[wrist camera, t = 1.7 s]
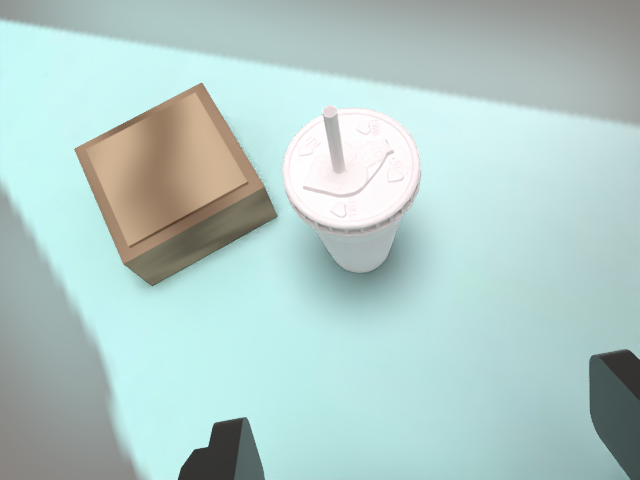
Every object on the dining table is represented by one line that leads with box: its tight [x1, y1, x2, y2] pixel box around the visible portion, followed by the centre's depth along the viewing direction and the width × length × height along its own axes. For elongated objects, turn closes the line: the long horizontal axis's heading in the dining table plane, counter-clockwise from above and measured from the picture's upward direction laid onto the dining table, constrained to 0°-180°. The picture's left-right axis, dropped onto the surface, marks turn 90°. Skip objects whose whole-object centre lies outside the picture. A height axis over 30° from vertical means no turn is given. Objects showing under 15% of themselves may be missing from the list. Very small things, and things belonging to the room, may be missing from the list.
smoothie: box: [282, 105, 421, 273], centre depth 27 cm, size 6×6×14 cm
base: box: [74, 83, 277, 286], centre depth 34 cm, size 9×9×4 cm
